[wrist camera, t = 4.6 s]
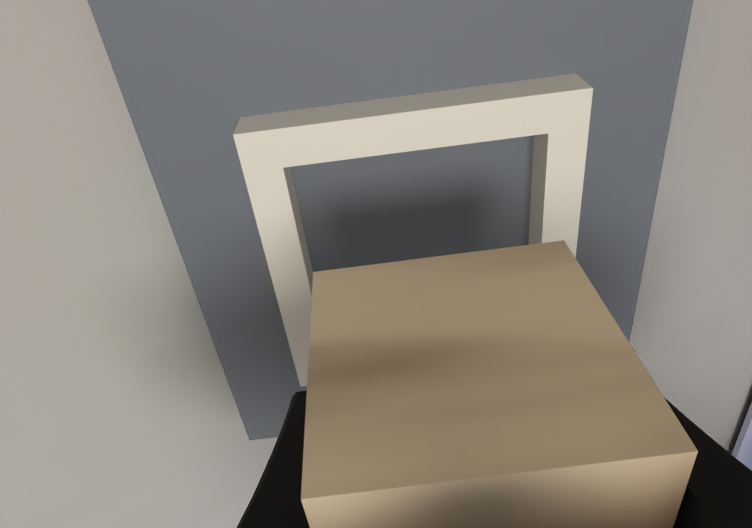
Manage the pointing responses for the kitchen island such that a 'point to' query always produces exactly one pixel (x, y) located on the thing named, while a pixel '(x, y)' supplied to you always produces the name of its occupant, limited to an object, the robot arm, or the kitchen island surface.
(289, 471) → the robot arm
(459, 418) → the oak block
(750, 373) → the kitchen island surface
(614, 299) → the slate baseplate
